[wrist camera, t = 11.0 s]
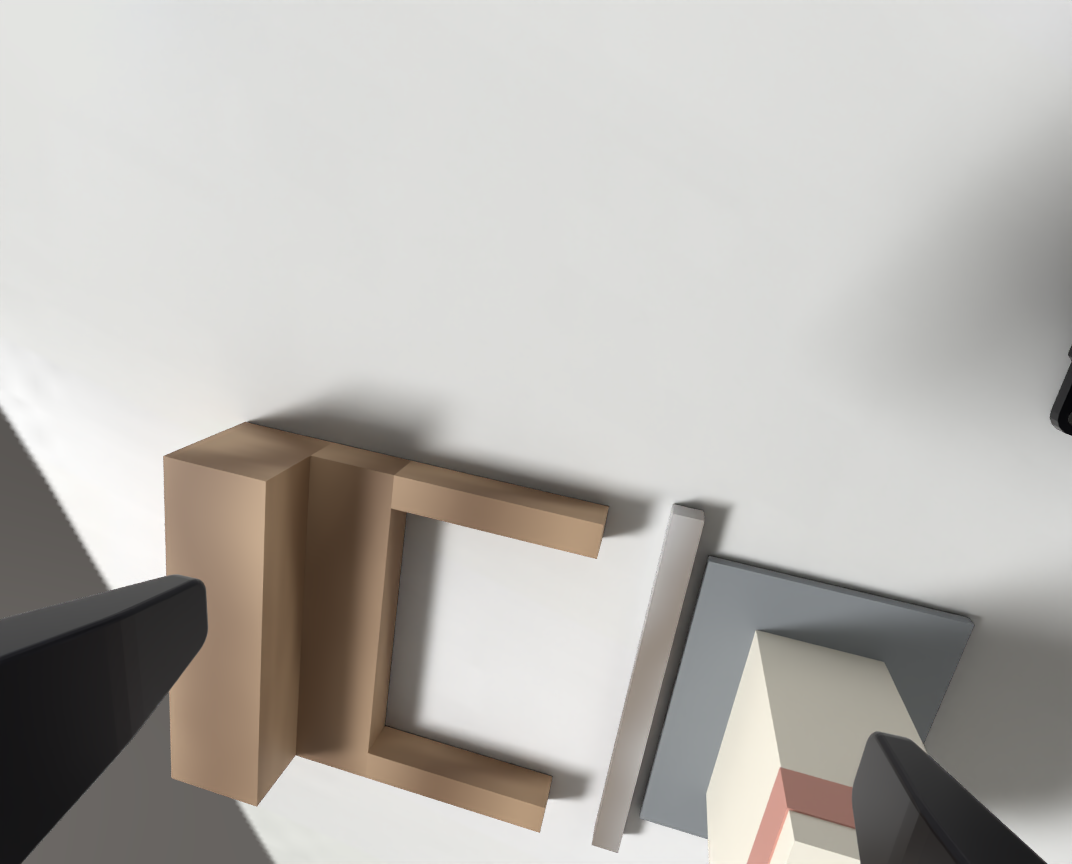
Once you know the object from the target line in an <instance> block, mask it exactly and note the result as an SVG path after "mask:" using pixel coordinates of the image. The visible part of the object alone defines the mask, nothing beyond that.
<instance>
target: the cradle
mask: <svg viewBox="0 0 1072 864" xmlns="http://www.w3.org/2000/svg"><path fill="white" fill-rule="evenodd" d="M163 464H164V503H165V542H166V576H168V575H173V574H178V575H183V576H188V577H192V578H197V579H200V580H201V581H202V582H203V583H204V585H205V587H206V595H207V614H208V634H207V637H206V640H205V642H204V644H203V646H202V648H201V649H200V651H199V652H198V653H197V655H196V656H195V657H194V659H193V660H192V661H191V663H190V664H189V665H188V667H187V668H186V669H185V671H184V672H183V673H182V675H181V676H180V677H179V679H178V680H177V681H176V683H175V684H174V685H173V687H172V688H171V689H170V691H169V696H170V737H171V774H172V778H173V779H176V780H179V781H182V782H185V783H188V784H191V785H194V786H197V787H200V788H203V789H206V790H209V791H212V792H215V793H218V794H221V795H224V796H227V797H230V798H233V799H236V800H239V801H242V802H245V803H248V804H251V805H254V806H258V804H259V803H260V802H261V800H262V799H263V798H264V796H265V795H266V794H267V792H268V791H269V790H270V789H271V787H272V786H273V785H274V783H275V782H276V781H277V779H278V778H279V777H280V775H281V774H282V773H283V771H284V770H285V769H286V767H287V766H288V765H289V763H290V762H291V761H292V759H293V758H294V757H295V755H297V756H300V757H303V758H306V759H309V760H312V761H316V762H319V763H322V764H325V765H328V766H331V767H335V768H338V769H341V770H344V771H347V772H350V773H353V774H357V775H360V776H363V777H366V778H369V779H372V780H375V781H379V782H382V783H385V784H388V785H391V786H394V787H398V788H401V789H404V790H407V791H410V792H413V793H416V794H420V795H423V796H426V797H429V798H432V799H435V800H438V801H442V802H445V803H448V804H451V805H454V806H457V807H461V808H464V809H467V810H470V811H473V812H476V813H479V814H483V815H486V816H489V817H492V818H495V819H498V820H502V821H505V822H508V823H511V824H514V825H517V826H520V827H524V828H527V829H530V830H533V831H536V832H539V833H540V829H541V825H542V821H543V817H544V813H545V809H546V805H547V800H548V796H549V791H550V786H551V781H552V776H549V775H546V774H542V773H539V772H536V771H532V770H529V769H526V768H523V767H519V766H516V765H513V764H509V763H506V762H503V761H499V760H496V759H493V758H490V757H486V756H483V755H480V754H476V753H473V752H470V751H466V750H463V749H460V748H456V747H453V746H450V745H447V744H443V743H440V742H437V741H433V740H430V739H427V738H423V737H420V736H417V735H413V734H410V733H407V732H404V731H400V730H397V729H394V728H390V727H387V726H385V719H386V709H387V699H388V689H389V680H390V670H391V660H392V650H393V641H394V631H395V621H396V611H397V602H398V592H399V582H400V572H401V563H402V553H403V543H404V533H405V524H406V514H407V512H408V513H412V514H416V515H420V516H424V517H428V518H432V519H436V520H441V521H445V522H449V523H453V524H457V525H461V526H465V527H469V528H473V529H477V530H481V531H485V532H489V533H493V534H497V535H502V536H506V537H510V538H514V539H518V540H522V541H526V542H530V543H534V544H538V545H542V546H546V547H550V548H554V549H558V550H563V551H567V552H571V553H575V554H579V555H583V556H587V557H591V558H595V559H597V556H598V552H599V549H600V545H601V541H602V538H603V533H604V528H605V523H606V518H607V514H608V509H609V506H605V505H600V504H596V503H592V502H587V501H583V500H579V499H574V498H570V497H566V496H562V495H557V494H553V493H549V492H544V491H540V490H536V489H531V488H527V487H523V486H519V485H514V484H510V483H506V482H501V481H497V480H493V479H488V478H484V477H480V476H475V475H471V474H467V473H463V472H458V471H454V470H450V469H445V468H441V467H437V466H432V465H428V464H424V463H420V462H415V461H411V460H407V459H402V458H398V457H394V456H389V455H385V454H381V453H377V452H372V451H368V450H364V449H359V448H355V447H351V446H346V445H342V444H338V443H333V442H329V441H325V440H321V439H316V438H312V437H308V436H303V435H299V434H295V433H290V432H286V431H282V430H278V429H273V428H269V427H265V426H260V425H256V424H252V423H247V422H244V423H242V424H239V425H237V426H234V427H232V428H230V429H227V430H225V431H222V432H220V433H218V434H215V435H213V436H210V437H208V438H206V439H203V440H201V441H198V442H196V443H194V444H191V445H189V446H186V447H184V448H182V449H179V450H177V451H174V452H172V453H170V454H167V455H165V456H163ZM704 522H705V518H704V511H702V510H697V509H693V508H689V507H684V506H680V505H676V504H673V506H672V510H671V514H670V518H669V522H668V527H667V531H666V535H665V539H664V543H663V547H662V551H661V555H660V560H659V564H658V568H657V572H656V576H655V580H654V584H653V588H652V593H651V597H650V601H649V605H648V609H647V613H646V617H645V621H644V626H643V630H642V634H641V638H640V642H639V646H638V650H637V654H636V658H635V663H634V667H633V671H632V675H631V679H630V683H629V687H628V691H627V696H626V700H625V704H624V708H623V712H622V716H621V720H620V724H619V729H618V733H617V737H616V741H615V745H614V749H613V753H612V757H611V762H610V766H609V770H608V774H607V778H606V782H605V786H604V790H603V795H602V799H601V803H600V807H599V811H598V815H597V819H596V823H595V828H594V834H593V841H592V845H594V846H597V847H600V848H603V849H607V850H610V851H613V852H616V853H618V850H619V847H620V843H621V839H622V835H623V831H624V827H625V824H626V820H627V816H628V812H629V808H630V805H631V801H632V797H633V793H634V789H635V785H636V782H637V778H638V774H639V770H640V766H641V763H642V759H643V755H644V751H645V747H646V743H647V740H648V736H649V732H650V728H651V724H652V720H653V717H654V713H655V709H656V705H657V701H658V698H659V694H660V690H661V686H662V682H663V678H664V675H665V671H666V667H667V663H668V659H669V656H670V652H671V648H672V644H673V640H674V636H675V633H676V629H677V625H678V621H679V617H680V613H681V610H682V606H683V602H684V598H685V594H686V591H687V587H688V583H689V579H690V575H691V571H692V568H693V564H694V560H695V556H696V552H697V549H698V545H699V541H700V537H701V533H702V529H703V526H704Z"/></svg>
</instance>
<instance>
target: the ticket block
mask: <svg viewBox="0 0 1072 864" xmlns="http://www.w3.org/2000/svg"><path fill="white" fill-rule="evenodd" d="M876 731H879V732H884V733H888V734H893V735H897V736H902V737H906V738H909V739H911V740H912V741H913V742H915V743H916V744H917V745H918V746H919V747H920V748H921V749H922V750H923V751H925V752H926V753H927V751H926V749H925V747H924V745H923V743H922V741H921V739H920V737H919V735H918V732H917V730H916V728H915V726H914V724H913V722H912V720H911V718H910V716H909V713H908V711H907V709H906V707H905V705H904V703H903V701H902V699H901V696H900V694H899V692H898V690H897V688H896V686H895V684H894V682H893V680H892V677H891V675H890V673H889V671H888V669H887V667H886V665H885V663H884V662H882V661H878V660H874V659H870V658H866V657H862V656H858V655H854V654H850V653H846V652H842V651H838V650H834V649H830V648H826V647H823V646H819V645H815V644H811V643H807V642H803V641H799V640H795V639H791V638H787V637H783V636H779V635H775V634H771V633H767V632H763V631H759V630H756V631H755V634H754V638H753V641H752V644H751V648H750V651H749V654H748V658H747V661H746V664H745V667H744V671H743V674H742V677H741V681H740V684H739V687H738V690H737V694H736V697H735V700H734V704H733V707H732V710H731V714H730V717H729V720H728V723H727V727H726V730H725V733H724V737H723V740H722V743H721V747H720V750H719V753H718V756H717V760H716V763H715V766H714V770H713V773H712V776H711V780H710V783H709V786H708V789H707V793H706V801H707V826H708V851H709V864H860V857H859V850H858V843H857V836H856V829H855V822H854V815H853V808H852V788H853V783H854V780H855V776H856V773H857V770H858V767H859V764H860V761H861V758H862V755H863V751H864V748H865V745H866V742H867V740H868V738H869V736H870V735H871V734H872V733H874V732H876Z"/></svg>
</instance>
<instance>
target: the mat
mask: <svg viewBox="0 0 1072 864" xmlns="http://www.w3.org/2000/svg"><path fill="white" fill-rule="evenodd" d="M973 627H974V624H973V622H972V621H971V620H970V618H968V617H964V616H960V615H955V614H951V613H947V612H943V611H939V610H934V609H930V608H926V607H922V606H918V605H914V604H909V603H905V602H901V601H897V600H893V599H888V598H884V597H880V596H876V595H872V594H867V593H863V592H859V591H855V590H851V589H846V588H842V587H838V586H834V585H830V584H825V583H821V582H817V581H813V580H809V579H805V578H800V577H796V576H792V575H788V574H784V573H779V572H775V571H771V570H767V569H763V568H758V567H754V566H750V565H746V564H742V563H737V562H733V561H729V560H725V559H721V558H716V557H712V556H708V560H707V563H706V567H705V571H704V575H703V578H702V582H701V586H700V589H699V593H698V597H697V601H696V604H695V608H694V612H693V616H692V619H691V623H690V627H689V630H688V634H687V638H686V642H685V645H684V649H683V653H682V656H681V660H680V664H679V668H678V671H677V675H676V679H675V682H674V686H673V690H672V694H671V697H670V701H669V705H668V709H667V712H666V716H665V720H664V723H663V727H662V731H661V735H660V738H659V742H658V746H657V749H656V753H655V757H654V761H653V764H652V768H651V772H650V776H649V779H648V783H647V787H646V790H645V794H644V798H643V802H642V805H641V809H640V819H643V820H647V821H650V822H653V823H657V824H660V825H663V826H666V827H670V828H673V829H676V830H679V831H683V832H686V833H689V834H692V835H696V836H699V837H702V838H706V839H708V826H707V801H706V793H707V789H708V786H709V783H710V780H711V776H712V773H713V770H714V766H715V763H716V760H717V756H718V753H719V750H720V747H721V743H722V740H723V737H724V733H725V730H726V727H727V723H728V720H729V717H730V714H731V710H732V707H733V704H734V700H735V697H736V694H737V690H738V687H739V684H740V681H741V677H742V674H743V671H744V667H745V664H746V661H747V658H748V654H749V651H750V648H751V644H752V641H753V638H754V634H755V631H756V630H759V631H763V632H767V633H771V634H775V635H779V636H783V637H787V638H791V639H795V640H799V641H803V642H807V643H811V644H815V645H819V646H823V647H826V648H830V649H834V650H838V651H842V652H846V653H850V654H854V655H858V656H862V657H866V658H870V659H874V660H878V661H882V662H884V663H885V665H886V667H887V669H888V671H889V673H890V675H891V677H892V680H893V682H894V684H895V686H896V688H897V690H898V692H899V694H900V696H901V699H902V701H903V703H904V705H905V707H906V709H907V711H908V713H909V716H910V718H911V720H912V722H913V724H914V726H915V728H916V730H917V732H918V735H919V737H920V739H921V741H922V743H923V744H924V742H925V739H926V737H927V735H928V732H929V730H930V728H931V725H932V723H933V721H934V718H935V716H936V714H937V711H938V709H939V707H940V704H941V702H942V700H943V697H944V695H945V693H946V690H947V688H948V686H949V683H950V681H951V679H952V676H953V674H954V672H955V669H956V667H957V665H958V662H959V660H960V658H961V655H962V653H963V651H964V648H965V646H966V644H967V641H968V639H969V637H970V634H971V632H972V630H973Z"/></svg>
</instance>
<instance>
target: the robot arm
mask: <svg viewBox="0 0 1072 864" xmlns="http://www.w3.org/2000/svg"><path fill="white" fill-rule="evenodd" d="M1068 356H1069V358H1070V360H1071V364H1070V367H1069V369H1068V372H1067V374H1066V376H1065V379H1064V381H1063V383H1062V386H1061V388H1060V390H1059V393H1058V395H1057V398H1056V400H1055V402H1054V405H1053V407H1052V409H1051V413H1050V420H1051V423H1052V425H1053V426H1054V427H1055V428H1056V429H1058V430H1060V431H1062V432H1064V433H1066V434H1069V435H1071V436H1072V423H1069V422H1068V417H1069V415H1070V414H1071V412H1072V346H1071V348H1070V351H1069V353H1068ZM207 634H208V614H207V595H206V587H205V585H204V583H203V582H202V581H201V580H200V579H197V578H192V577H188V576H183V575H178V574H173V575H168V576H164V577H161V578H157V579H153V580H149V581H145V582H141V583H137V584H133V585H130V586H126V587H122V588H118V589H114V590H110V591H106V592H102V593H99V594H95V595H91V596H87V597H83V598H79V599H75V600H71V601H68V602H64V603H60V604H56V605H52V606H49V607H44V608H40V609H37V610H33V611H29V612H25V613H22V614H17V615H13V616H9V617H6V618H2V619H0V864H22V862H23V861H24V860H25V859H26V858H27V857H28V856H29V855H30V853H31V852H32V851H33V850H34V849H35V848H36V847H37V846H38V845H39V844H40V842H41V841H42V840H43V839H44V838H45V837H46V836H47V835H48V834H49V832H50V831H51V830H52V829H53V828H54V827H55V826H56V825H57V824H58V822H59V821H60V820H61V819H62V818H63V817H64V816H65V815H66V813H67V812H68V811H69V810H70V809H71V808H72V807H73V806H74V805H75V803H76V802H77V801H78V800H79V799H80V798H81V797H82V796H83V795H84V793H85V792H86V791H87V790H88V789H89V788H90V787H91V786H92V784H93V783H94V782H95V781H96V780H97V779H98V778H99V776H101V774H102V773H103V772H104V771H105V770H106V769H107V768H108V767H109V766H110V764H111V763H112V762H113V761H114V760H115V759H116V758H117V757H118V755H119V754H120V753H121V752H122V751H123V750H124V749H125V747H126V746H127V745H128V744H129V743H130V742H131V740H132V739H133V738H134V737H135V735H136V734H137V733H138V731H139V730H140V729H141V728H142V726H143V725H144V724H145V723H146V721H147V720H148V718H149V717H150V716H151V715H152V713H153V712H154V711H155V709H156V708H157V707H158V705H159V704H160V703H161V701H162V700H163V699H164V697H165V696H166V695H167V693H168V692H169V691H170V689H171V688H172V687H173V685H174V684H175V683H176V681H177V680H178V679H179V677H180V676H181V675H182V673H183V672H184V671H185V669H186V668H187V667H188V665H189V664H190V663H191V661H192V660H193V659H194V657H195V656H196V655H197V653H198V652H199V651H200V649H201V648H202V646H203V644H204V642H205V640H206V637H207ZM852 808H853V815H854V822H855V829H856V836H857V843H858V850H859V857H860V864H1047V863H1046V862H1045V861H1044V860H1043V859H1042V858H1041V857H1040V856H1038V855H1037V854H1036V853H1035V852H1034V851H1033V850H1032V849H1031V848H1030V847H1029V846H1027V845H1026V844H1025V843H1024V842H1023V841H1022V840H1021V839H1020V838H1019V837H1018V836H1017V835H1015V834H1014V833H1013V832H1012V831H1011V830H1010V829H1009V828H1008V827H1007V826H1006V825H1005V824H1003V823H1002V822H1001V821H1000V820H999V819H998V818H997V817H996V816H995V815H994V814H992V813H991V812H990V811H989V810H988V809H987V808H986V807H985V806H984V805H983V804H982V803H980V802H979V801H978V800H977V799H976V798H975V797H974V796H973V795H972V794H971V793H969V792H968V791H967V790H966V789H965V788H964V787H963V786H962V785H961V784H960V783H959V782H957V781H956V780H955V779H954V778H953V777H952V776H951V775H950V774H949V773H948V772H946V771H945V770H944V769H943V768H942V767H941V766H940V765H939V764H938V763H937V762H936V761H934V760H933V759H932V758H931V757H930V756H929V755H928V754H927V753H926V752H925V751H923V750H922V749H921V748H920V747H919V746H918V745H917V744H916V743H915V742H913V741H912V740H911V739H909V738H906V737H902V736H897V735H893V734H888V733H884V732H879V731H876V732H874V733H872V734H871V735H870V736H869V738H868V740H867V742H866V745H865V748H864V751H863V755H862V758H861V761H860V764H859V767H858V770H857V773H856V776H855V780H854V783H853V788H852Z"/></svg>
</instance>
